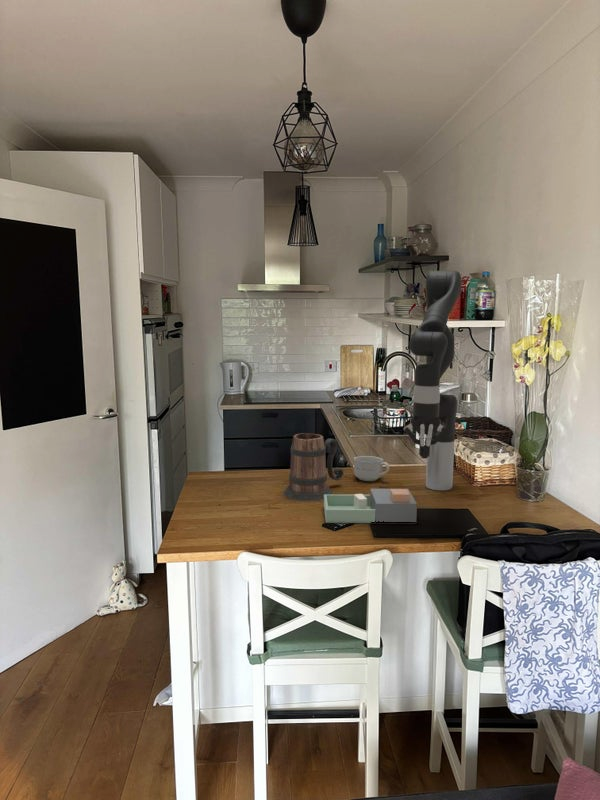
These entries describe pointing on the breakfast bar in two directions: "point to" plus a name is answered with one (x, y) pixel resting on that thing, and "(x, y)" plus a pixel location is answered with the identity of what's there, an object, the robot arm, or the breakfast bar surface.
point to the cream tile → (360, 501)
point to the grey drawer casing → (391, 507)
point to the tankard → (311, 467)
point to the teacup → (369, 467)
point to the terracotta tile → (399, 495)
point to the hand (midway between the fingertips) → (424, 457)
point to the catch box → (346, 510)
